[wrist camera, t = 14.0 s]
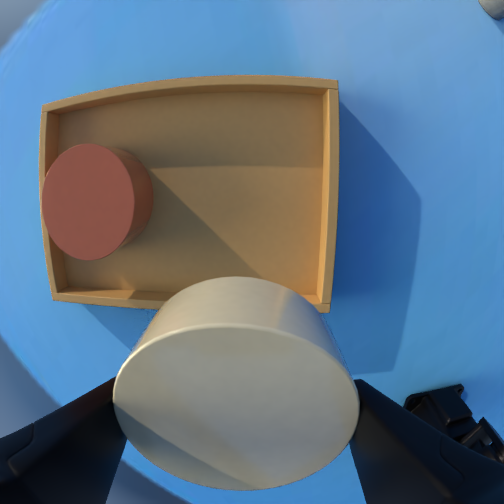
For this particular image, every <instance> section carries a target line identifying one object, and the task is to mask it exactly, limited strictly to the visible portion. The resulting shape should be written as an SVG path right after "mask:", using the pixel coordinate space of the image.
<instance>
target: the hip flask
mask: <svg viewBox="0 0 504 504" xmlns="http://www.w3.org/2000/svg"><path fill="white" fill-rule="evenodd" d="M479 2H480V4H481V6H482V7H483V8H484V10H485V11H486V12H487V13H488V14H489V15H490V16H491V17H493V18H495V19H497V20H500V19H502V18H504V0H479Z"/></svg>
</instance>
